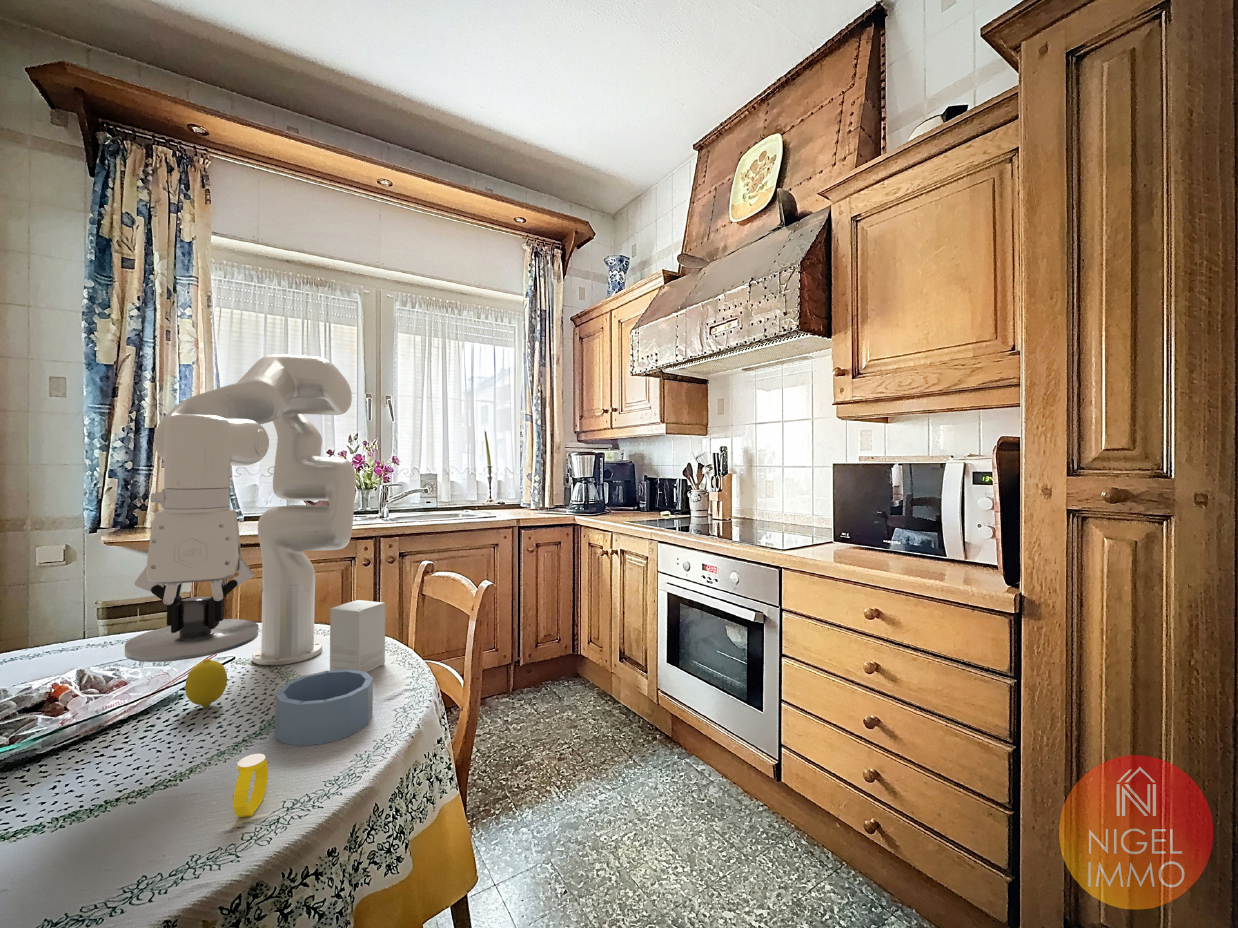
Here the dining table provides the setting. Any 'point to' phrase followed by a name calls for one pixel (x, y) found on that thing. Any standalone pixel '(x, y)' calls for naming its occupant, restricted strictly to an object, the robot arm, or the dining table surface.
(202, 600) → the lid
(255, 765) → the watch
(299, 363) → the robot arm
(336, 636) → the supplement box
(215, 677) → the lemon
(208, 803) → the dining table surface
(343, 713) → the bowl
